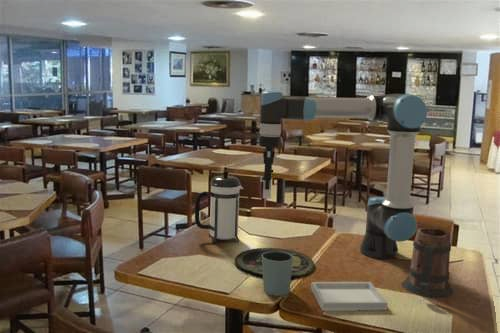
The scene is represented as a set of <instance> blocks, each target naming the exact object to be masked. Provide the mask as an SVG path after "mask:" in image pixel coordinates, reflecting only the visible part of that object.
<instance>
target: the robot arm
mask: <svg viewBox="0 0 500 333" xmlns="http://www.w3.org/2000/svg"><path fill="white" fill-rule="evenodd" d="M259 105H260V110H259V111H260V112H259V114H260V115H259V125H257V129H259V136H258V146H259V147H262V148H265V150H263V153H262V154H263V157H262V158H263V164H264V174H263V177H261V180H262V181H263V184H262V185H263V186H262V187H263V189H262V199H266V200H267V199H269V200H270V199H271V198H272V197H271V196H272V192H271V191H272V179H273V177H272V173H274V169H273V164H274V159H275V151H273V149H274V148H275V149H276V148H280V147H281V137H280V135H281V133H282V120H293V121H294V120H297V121H298V120H299V121H301V120H302V121H311V120H312V121H313V120H314V119H315V118H343V119H344V118H346V119H347V118H348V119H350V118H351V119H355V118H356V119H357V118H358V119H367V120H368V121H371V122H372V121H375V122H382V123H387V124H386V131H387V132H388V134H389V135H390V143H389V152H388V154H389V155H388V156H389V157H388V168H387V169H388V170H387V181H386V182H387V183H386V193H385V196H386V197H384V196H383V197H382V196H381V197H379V196H378V197H377V196H374V197H373V196H372V197H370V198H368V201H367V205H366V206H367V208H366V219H365V220H366V223H365V233H364V235H363V237H362V240H361V243H360V245H359V252H360V253H361V254H362V255H364V256H367V257H370V258H374V259H383V260H385V259H387V260H389V259H394V258H397V257H398V254H399V249H398V243H397V242H399V243H400V242H401V243H402V242H405V241H408V240H410V239H411V238H412V237H413V236H414V235H416V233H417V230H418V221H417V218H416V217H415V216H414V206H415V205H414V204H413V202H412V201H411V192H412V177H413V166H414V157H415V156H414V155H415V154H414V153H415V142H416V136H418V135H419V134H420V133H421V126H422V125H423V123H425V121H426V119H427V117H428V108H427V105H426V102H425V101H424V100H423V99H422V98H420V97H419V96H417V95H414V94H411V93H391V94H390V93H389V94H383V95H381V94H378V95H370V96H369V97H363V98H362V97H317V96H316V97H315V96H314V97H312V96H311V97H310V96H309V97H307V96H306V97H303V96H302V97H301V96H299V97H298V96H297V97H296V96H287V97H284V94H283V92H281V91H263V92H262V93H261V98H260V104H259Z"/></svg>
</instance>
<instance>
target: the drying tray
mask: <svg viewBox="0 0 500 333" xmlns="http://www.w3.org/2000/svg"><path fill="white" fill-rule="evenodd" d="M310 286H311V287H310V290H311V292H312V294H313V297H315V299H316V301H317V303H318V305H319V306H320V309H321V311H322V312H342V311H343V312H345V311H346V312H350V311H351V312H360V311H361V310H362V311H364V310H365V312H366V311H367V310H368V311H367V312H372V311H373V312H374V311H375V312H377V311H379V312H380V311H381V310H387V311H388V304H389V303H388V301H386V299H385V298H384V296H383V295H382V294H381V293H380V292H379V291H378V290H377V288H376V287H375V285H373V283H372V282H371V281H311V285H310ZM358 310H360V311H358ZM370 310H372V311H370ZM362 311H361V312H362Z"/></svg>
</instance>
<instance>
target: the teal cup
mask: <svg viewBox="0 0 500 333" xmlns="http://www.w3.org/2000/svg"><path fill="white" fill-rule="evenodd" d="M292 263H293V256H292V255H291V254H290V253H287V252H283V251H269V252H265V253H263V254H262V266H263V278H262V281H263V283H262V284H263V285H262V287H263V289H262V290H263V292H264V293H265V294H266V295H269V296H272V295H274V297H283V296H282V295H284V296H286V295H288V294H289V293H290V291H291V281H292V279H291V273H292V270H291V268H292Z"/></svg>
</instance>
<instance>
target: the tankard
mask: <svg viewBox="0 0 500 333" xmlns="http://www.w3.org/2000/svg"><path fill="white" fill-rule="evenodd" d="M450 238H451V237H450V232H448V231H444V230H442V229H440V228H434V227H424V228H422V227H419V228H417V230H416V232H415V237H414V239H413V244H412V246H413V247H412V255H411V262H410V266H409V271H408V272H409V275H408V276H407V277H406V278H405V280H404V281H402V283H401V286H402V288H403V289H404V290H405V291H407V292H409V293H411V294H413V295H416V296H418V297H419V296H420V297H422V298H428V299H447V298H450V297H451V298H452V296H454V294H455V292H454V289H453V288H452V286H451V284H450V283H449V280H450V255H451V251H452V244H451V239H450Z"/></svg>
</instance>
